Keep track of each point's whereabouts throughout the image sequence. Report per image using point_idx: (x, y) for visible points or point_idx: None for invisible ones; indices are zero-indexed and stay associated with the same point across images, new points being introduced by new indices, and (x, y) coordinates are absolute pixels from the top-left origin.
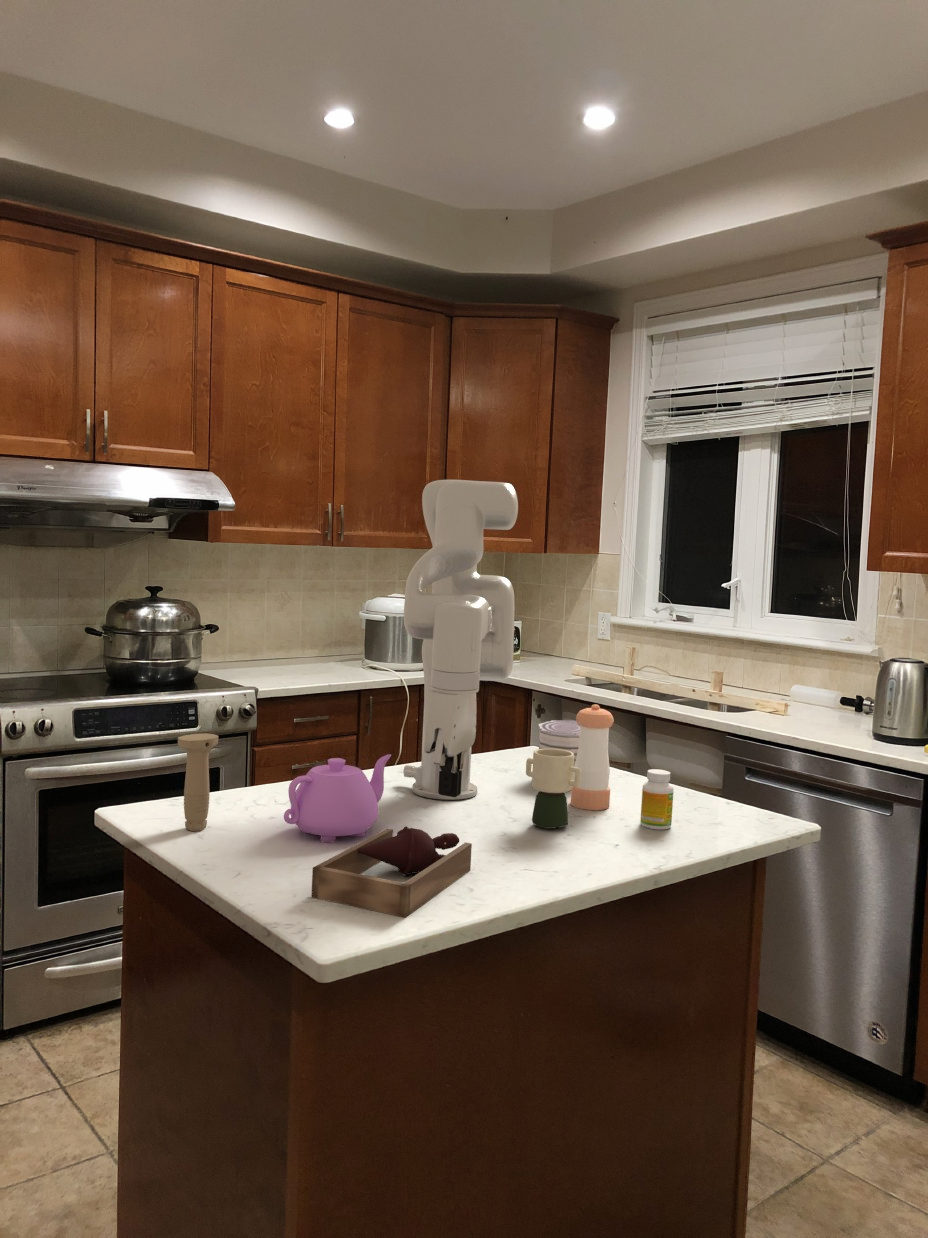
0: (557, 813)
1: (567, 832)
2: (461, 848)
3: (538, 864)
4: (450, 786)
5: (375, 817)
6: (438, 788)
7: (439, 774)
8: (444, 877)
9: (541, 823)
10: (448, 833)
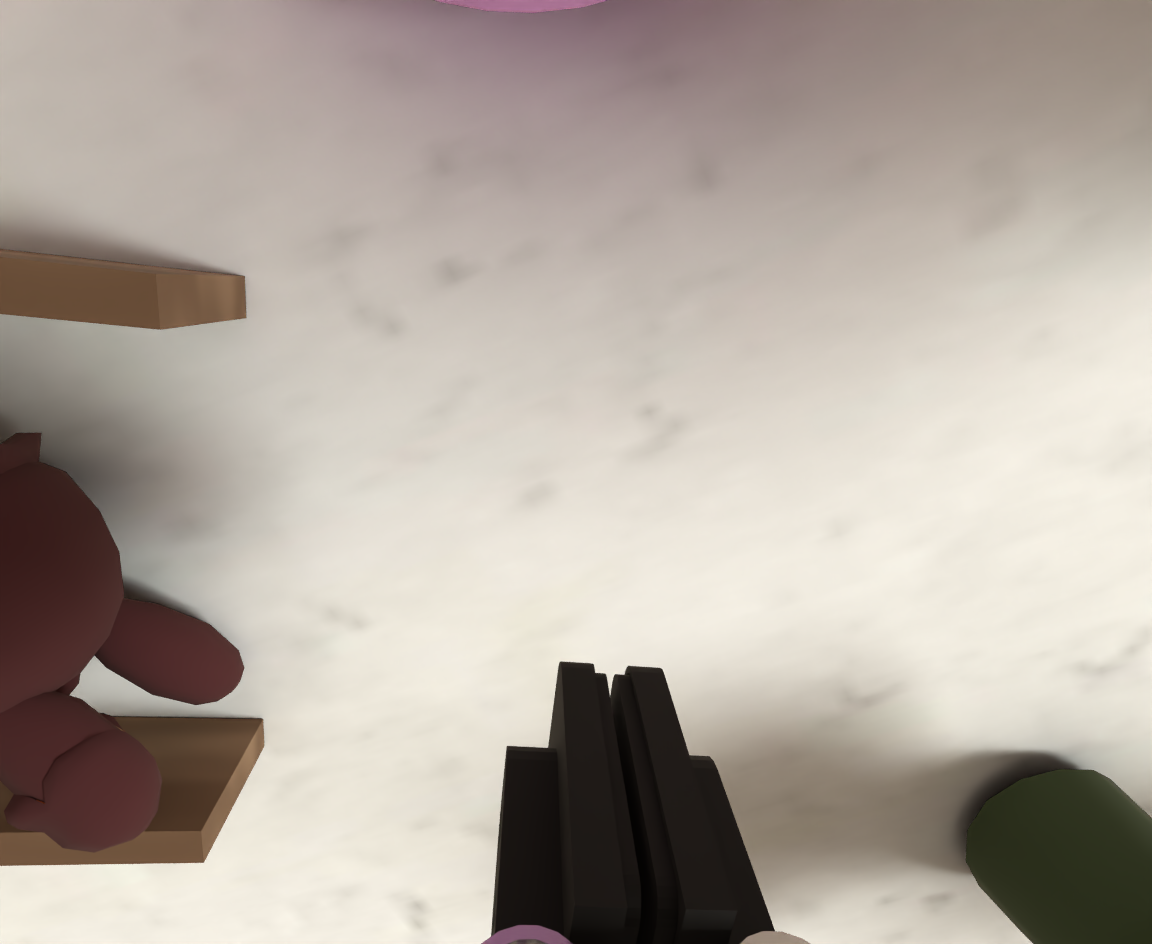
0: (1031, 937)
1: (968, 887)
2: (67, 855)
3: None
4: (495, 877)
5: (519, 4)
6: (564, 692)
7: (573, 838)
8: None
9: (988, 833)
10: (80, 810)
